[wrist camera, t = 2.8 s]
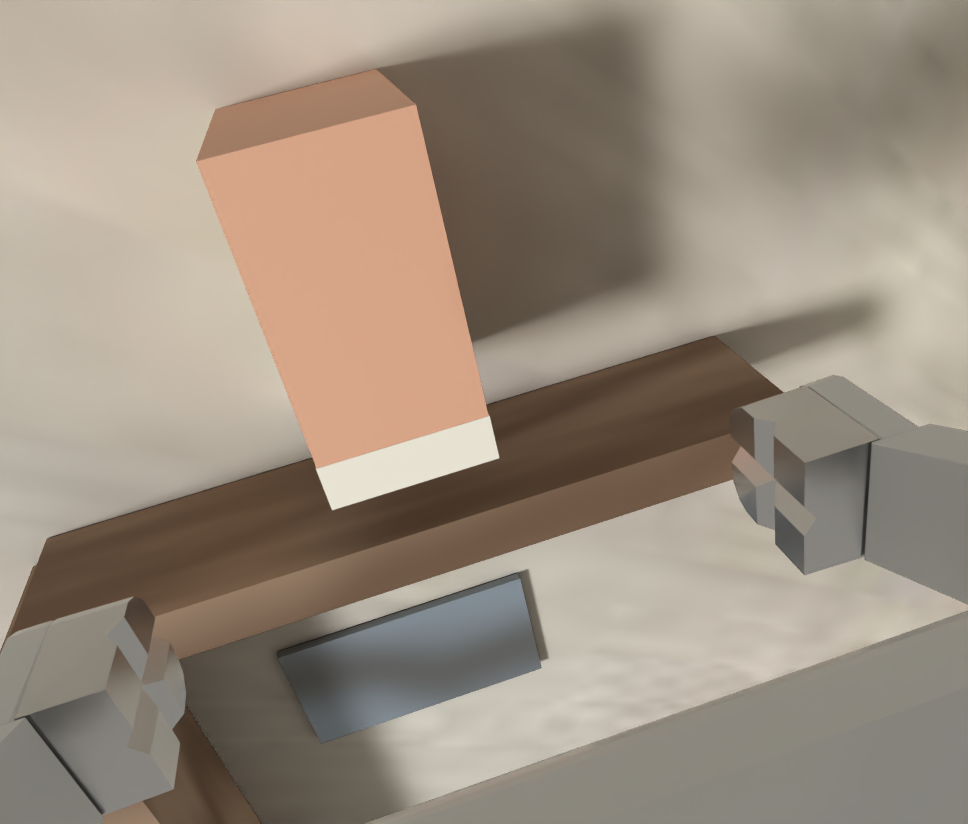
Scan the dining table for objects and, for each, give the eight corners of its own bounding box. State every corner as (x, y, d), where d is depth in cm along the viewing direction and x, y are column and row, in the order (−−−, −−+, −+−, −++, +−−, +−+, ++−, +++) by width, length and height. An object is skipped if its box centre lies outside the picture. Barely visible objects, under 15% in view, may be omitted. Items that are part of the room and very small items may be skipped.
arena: (19, 547, 23) (-36, 677, 19) (714, 336, 25) (804, 409, 21) (274, 911, 35) (276, 1041, 31) (731, 745, 37) (791, 844, 33)
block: (214, 109, 19) (195, 162, 13) (376, 68, 19) (417, 104, 14) (317, 389, 23) (331, 510, 18) (448, 351, 23) (499, 458, 18)
